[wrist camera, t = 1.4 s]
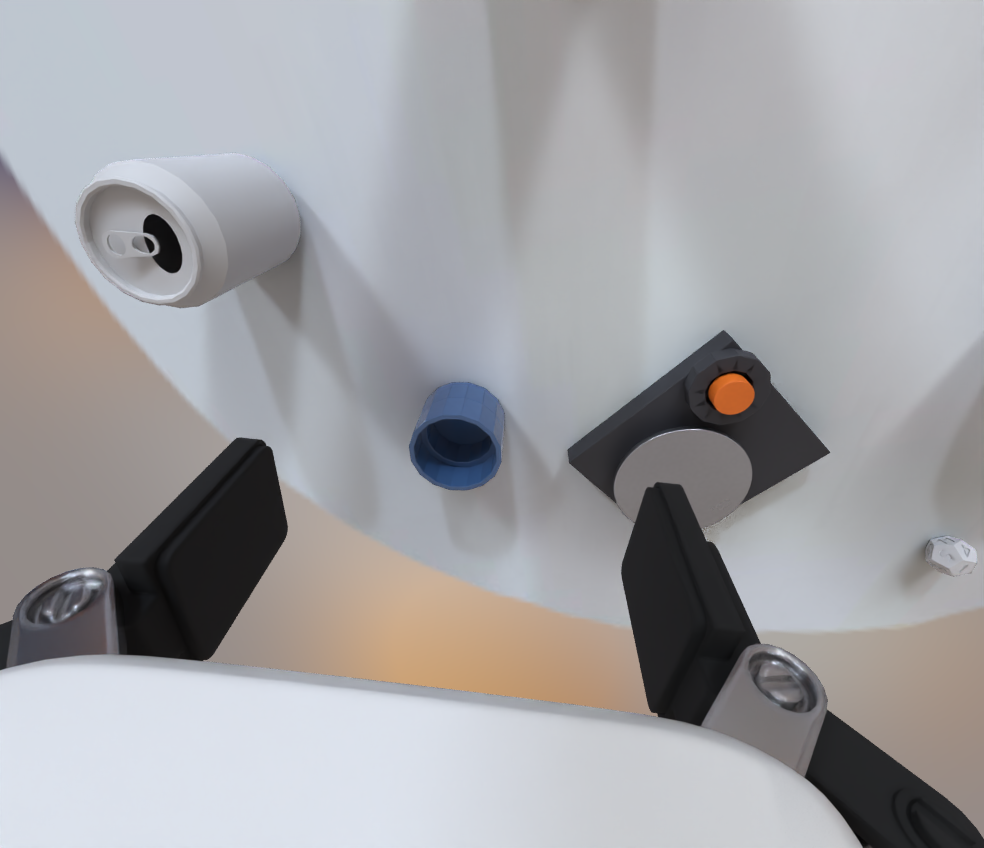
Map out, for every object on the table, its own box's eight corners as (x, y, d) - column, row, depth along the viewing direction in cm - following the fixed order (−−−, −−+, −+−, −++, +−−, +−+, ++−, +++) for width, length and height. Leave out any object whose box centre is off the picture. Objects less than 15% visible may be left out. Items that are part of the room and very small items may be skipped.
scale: (725, 323, 35) (742, 340, 32) (821, 436, 40) (844, 460, 37) (564, 447, 42) (567, 470, 40) (662, 531, 47) (670, 558, 44)
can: (314, 268, 36) (226, 322, 25) (218, 263, 36) (94, 314, 26) (295, 154, 32) (183, 164, 21) (188, 150, 32) (27, 158, 22)
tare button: (733, 365, 34) (740, 373, 33) (755, 389, 35) (762, 398, 34) (700, 389, 35) (706, 398, 34) (721, 412, 36) (728, 421, 35)
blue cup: (460, 362, 39) (449, 397, 34) (522, 415, 41) (520, 455, 36) (408, 415, 42) (391, 453, 37) (468, 461, 44) (459, 504, 39)
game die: (908, 553, 46) (930, 577, 44) (934, 526, 44) (959, 550, 42) (942, 560, 46) (966, 585, 44) (969, 534, 44) (996, 558, 42)
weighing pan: (697, 400, 35) (699, 403, 35) (776, 483, 39) (779, 486, 38) (586, 479, 40) (586, 483, 39) (665, 547, 43) (666, 551, 43)
